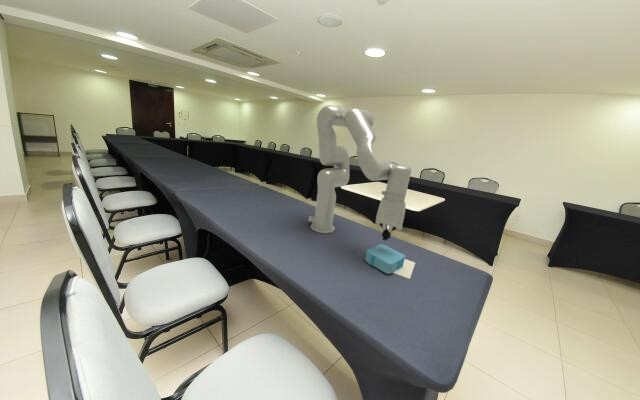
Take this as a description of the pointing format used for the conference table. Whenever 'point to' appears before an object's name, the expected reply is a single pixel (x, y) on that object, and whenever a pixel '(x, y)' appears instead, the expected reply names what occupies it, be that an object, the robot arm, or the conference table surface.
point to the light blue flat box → (384, 258)
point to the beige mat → (405, 269)
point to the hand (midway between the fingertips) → (385, 239)
